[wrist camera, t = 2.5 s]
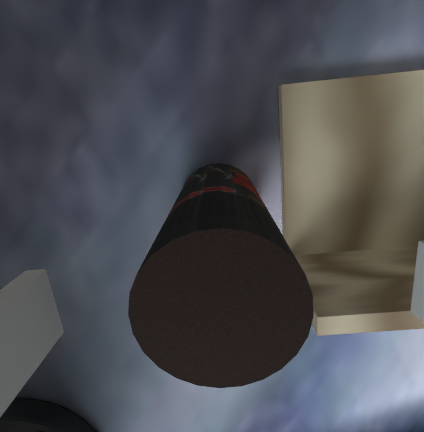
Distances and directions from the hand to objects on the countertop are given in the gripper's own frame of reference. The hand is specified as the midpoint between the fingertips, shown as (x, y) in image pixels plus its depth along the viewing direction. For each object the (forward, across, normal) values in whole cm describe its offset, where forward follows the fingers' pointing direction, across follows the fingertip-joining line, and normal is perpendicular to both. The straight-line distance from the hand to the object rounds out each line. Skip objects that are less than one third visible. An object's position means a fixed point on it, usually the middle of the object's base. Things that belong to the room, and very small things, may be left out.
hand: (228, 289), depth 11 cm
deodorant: (+14, 0, 0) cm, 14 cm away
